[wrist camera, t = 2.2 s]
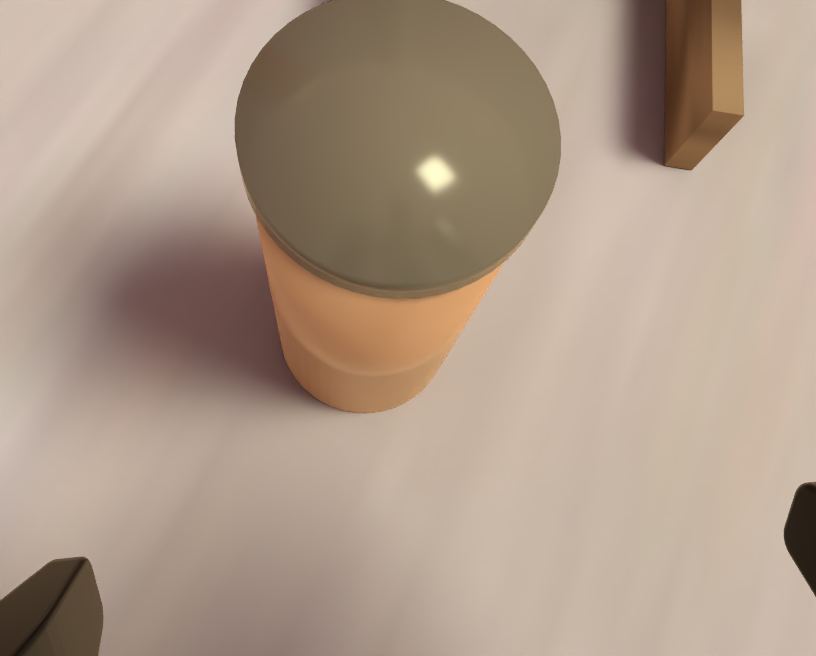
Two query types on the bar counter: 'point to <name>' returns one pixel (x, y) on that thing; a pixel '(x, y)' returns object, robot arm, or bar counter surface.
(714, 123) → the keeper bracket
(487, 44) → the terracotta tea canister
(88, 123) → the bar counter surface
